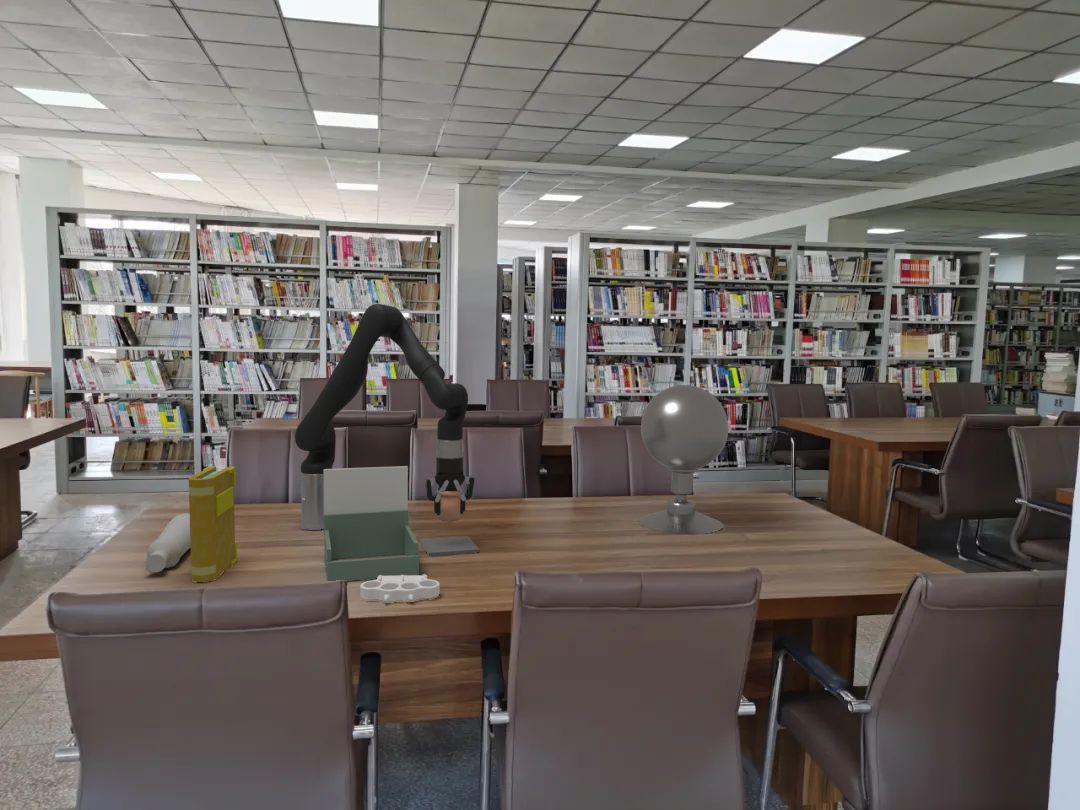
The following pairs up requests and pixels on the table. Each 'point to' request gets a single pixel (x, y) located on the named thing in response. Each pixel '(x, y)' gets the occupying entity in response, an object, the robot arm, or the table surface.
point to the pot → (450, 506)
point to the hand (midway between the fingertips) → (449, 513)
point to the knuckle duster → (400, 588)
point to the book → (212, 523)
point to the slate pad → (449, 545)
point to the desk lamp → (683, 452)
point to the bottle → (169, 544)
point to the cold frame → (368, 523)
